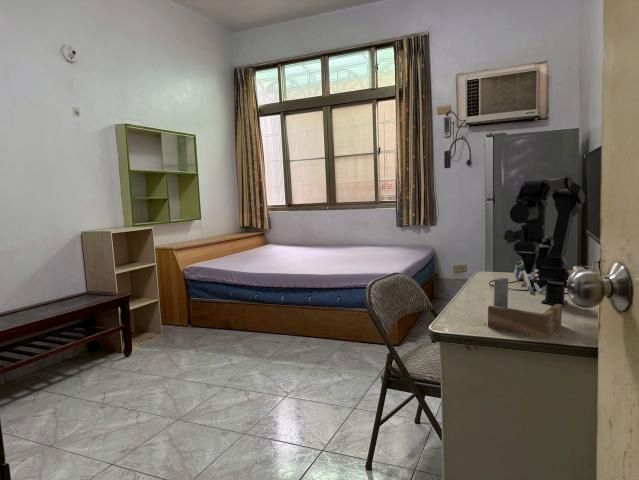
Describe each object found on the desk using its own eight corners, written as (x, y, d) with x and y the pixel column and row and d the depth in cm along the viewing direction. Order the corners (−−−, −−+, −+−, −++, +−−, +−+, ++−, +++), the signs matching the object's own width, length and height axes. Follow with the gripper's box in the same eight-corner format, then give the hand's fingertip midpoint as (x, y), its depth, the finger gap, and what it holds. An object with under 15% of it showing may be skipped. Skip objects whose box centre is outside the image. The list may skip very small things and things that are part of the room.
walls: (506, 315, 134) (506, 296, 133) (561, 325, 123) (562, 304, 122) (487, 326, 123) (488, 306, 123) (545, 338, 113) (546, 316, 112)
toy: (522, 281, 159) (509, 256, 187) (520, 303, 161) (508, 275, 189) (552, 282, 156) (535, 257, 184) (551, 304, 158) (534, 276, 186)
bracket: (501, 319, 128) (502, 277, 127) (527, 325, 122) (528, 281, 121) (493, 321, 126) (494, 279, 124) (519, 328, 120) (521, 283, 118)
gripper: (518, 218, 145) (517, 264, 147) (496, 222, 131) (495, 273, 133) (555, 219, 137) (553, 268, 139) (535, 223, 124) (534, 277, 126)
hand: (533, 271), depth 134 cm, fingers open, 9 cm apart
